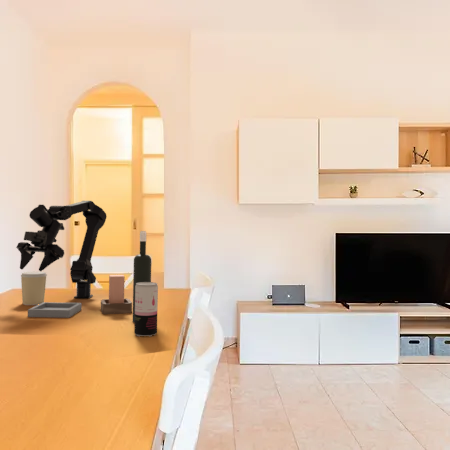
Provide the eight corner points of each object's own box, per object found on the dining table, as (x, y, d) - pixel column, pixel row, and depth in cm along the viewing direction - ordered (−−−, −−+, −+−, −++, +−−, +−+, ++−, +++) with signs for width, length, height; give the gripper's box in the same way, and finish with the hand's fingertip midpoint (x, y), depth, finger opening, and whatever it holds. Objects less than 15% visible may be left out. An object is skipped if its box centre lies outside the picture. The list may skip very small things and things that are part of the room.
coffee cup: (50, 301, 183) (51, 272, 183) (38, 306, 173) (39, 274, 173) (28, 300, 184) (28, 271, 184) (15, 305, 174) (16, 273, 174)
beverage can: (151, 330, 138) (152, 281, 138) (160, 335, 133) (161, 284, 133) (131, 333, 135) (132, 282, 135) (139, 338, 129) (140, 285, 129)
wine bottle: (129, 321, 150) (130, 230, 150) (143, 318, 155) (144, 230, 155) (139, 324, 147) (141, 231, 146) (153, 321, 151) (155, 231, 151)
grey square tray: (43, 309, 168) (43, 302, 168) (81, 309, 168) (81, 302, 168) (27, 316, 154) (27, 309, 154) (69, 317, 154) (69, 310, 154)
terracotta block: (108, 309, 169) (109, 274, 169) (122, 309, 171) (122, 274, 170) (109, 312, 164) (110, 276, 164) (123, 311, 166) (124, 276, 166)
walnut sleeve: (100, 308, 171) (100, 299, 171) (128, 307, 174) (128, 298, 174) (102, 314, 161) (102, 304, 161) (132, 312, 164) (132, 303, 164)
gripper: (16, 221, 171) (-4, 257, 163) (54, 222, 164) (35, 260, 156) (35, 236, 180) (17, 271, 172) (72, 239, 172) (55, 275, 165)
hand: (30, 269), depth 166 cm, fingers open, 9 cm apart
